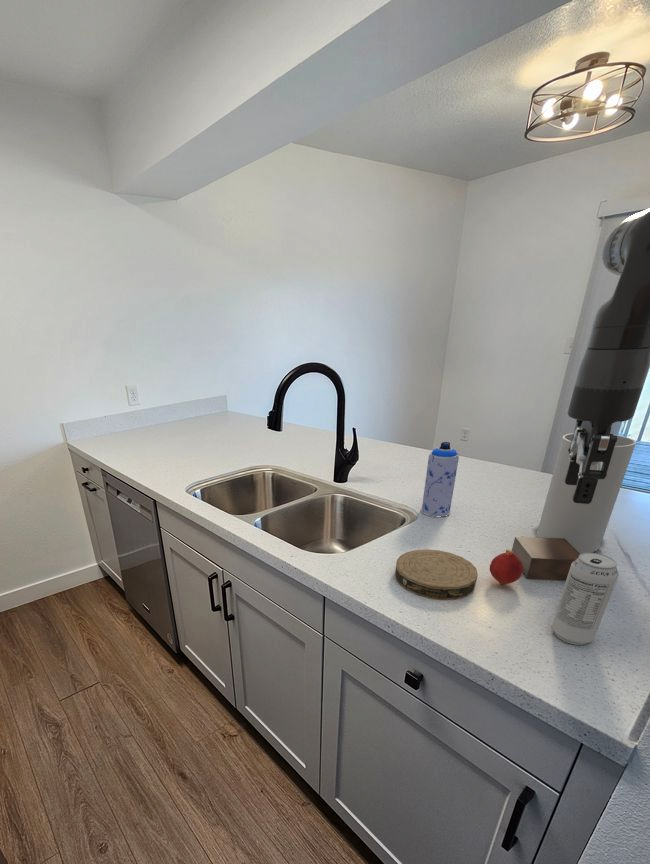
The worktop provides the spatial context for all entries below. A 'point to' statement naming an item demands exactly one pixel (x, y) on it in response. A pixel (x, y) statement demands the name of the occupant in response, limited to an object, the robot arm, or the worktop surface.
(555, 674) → the worktop surface
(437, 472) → the aerosol can
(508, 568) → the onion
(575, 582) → the energy drink can
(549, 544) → the walnut block
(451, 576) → the wood slice
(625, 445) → the cylinder vase
